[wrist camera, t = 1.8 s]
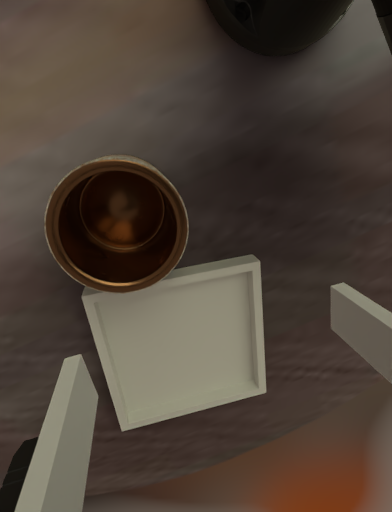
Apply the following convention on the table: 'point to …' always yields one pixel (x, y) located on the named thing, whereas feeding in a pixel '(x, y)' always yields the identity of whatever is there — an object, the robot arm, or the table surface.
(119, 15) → the table surface
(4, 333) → the table surface
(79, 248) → the planter
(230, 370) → the tray
